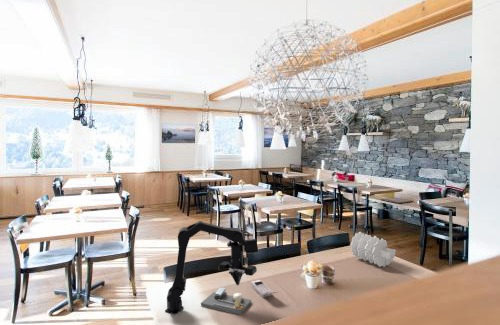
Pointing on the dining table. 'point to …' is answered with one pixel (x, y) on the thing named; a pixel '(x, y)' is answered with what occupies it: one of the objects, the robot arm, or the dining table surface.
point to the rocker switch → (220, 291)
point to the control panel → (225, 303)
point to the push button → (237, 296)
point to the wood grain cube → (238, 304)
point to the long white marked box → (261, 288)
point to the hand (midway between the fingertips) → (237, 284)
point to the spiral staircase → (372, 249)
